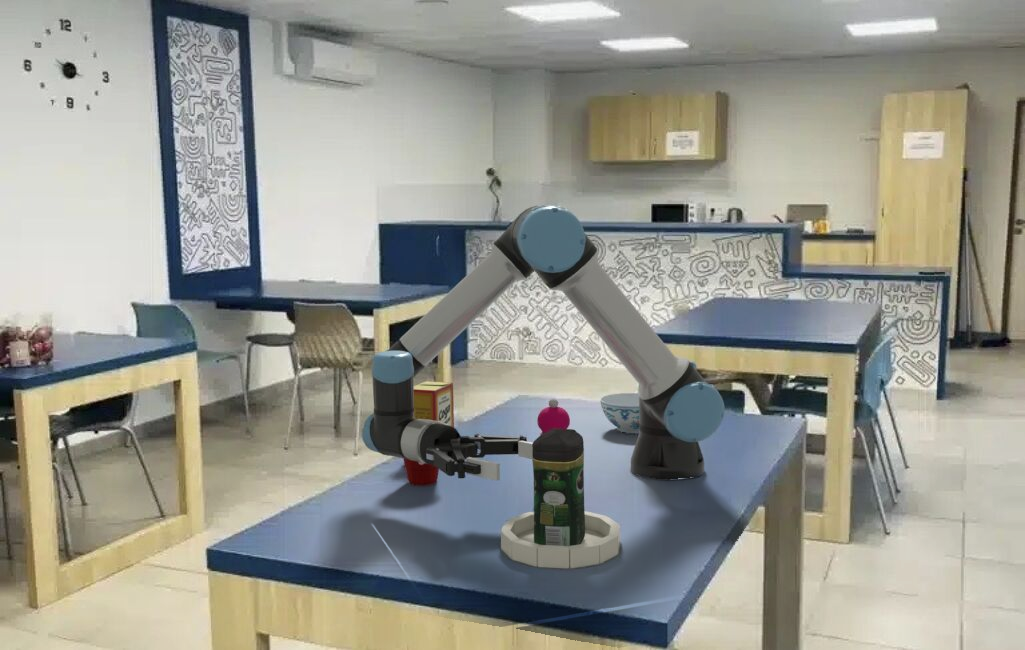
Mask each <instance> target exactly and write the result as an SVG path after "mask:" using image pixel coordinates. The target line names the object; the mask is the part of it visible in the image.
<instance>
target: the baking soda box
mask: <svg viewBox="0 0 1025 650" xmlns="http://www.w3.org/2000/svg"><path fill="white" fill-rule="evenodd" d="M454 410H455V409H454V382H450V381H449V382H446V381H445V382H444V381H429V380H428V381H427V380H426V381H423V382H421V383H419V384H417V385H414V419H422V420H433V421H439V422H442V423H445V424H447V425H449V426H452V427H454V428H455V421H454V420H455V414H454V413H455V411H454Z"/></svg>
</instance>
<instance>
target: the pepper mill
mask: <svg viewBox="0 0 1025 650" xmlns="http://www.w3.org/2000/svg"><path fill="white" fill-rule="evenodd" d="M536 421H537V427H538V428H539V429H540V431H541V432H540V434H539V436H540V435H542V434H544V433H546V432H548V431H550V430H551V429H553V428H556V429H569V427H570V425H571V420H570V415H569V413H568V411H566V409H564V408H563V407H559V402H558V400H557V398H551V399H549V400H548V406H547V407H545V408H543V409H542V410H541V411H540V412H539V413H538V415H537V420H536Z"/></svg>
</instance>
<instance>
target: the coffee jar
mask: <svg viewBox="0 0 1025 650" xmlns="http://www.w3.org/2000/svg"><path fill="white" fill-rule="evenodd" d="M532 443H533V444H532V447H533V449H532V456H533V457H532V459H531V460H532V461H531V462H532V471H533V512H534V543H536V544H539V545H552V546H573V545H580V544H581V543H582V541H583V539H584V537H585V511H586V510H585V483H584V482H585V481H584V480H585V479H584V478H585V476H584V473H585V472H584V470H585V469H584V466H585V465H584V463H585V448H584V443H585V442H584V438H583V436H582V434H580V433H579V432H578V431H576V430H575V429H571V428H567V429H556V428H553V429H551V430H550V431H548V432H546V433H544V434H542V435H540V434H539V436H538V437H537V438H536V439H535V440H534V441H533V442H532Z"/></svg>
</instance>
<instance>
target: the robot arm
mask: <svg viewBox="0 0 1025 650" xmlns="http://www.w3.org/2000/svg"><path fill="white" fill-rule="evenodd" d="M490 250H491V251H490V253H489V254H488V255H486V257H485V258H483V259H482V260H481V261H480V262H479V263H478V264H477V265H476V266H475V267H474V268H473V269H472V270H471V271H469V273H468V274H467V275H465V277H463V278H462V279H461V280H460V281H459V282H458V283H457V284H456V285H455V286H454V287H453V288H452V289H451V290H449V292H448V293H447V294H446V295H444V296H443V298H441V299H440V300H439V301H438V302H437V303H436V304H435V305H434V306H432V308H431V309H430V310H428V311H427V313H425V314H424V315H423V316H422V317H421V318H420V319H419V320H418V321H417V322H416V323H414V324H413V326H411V327H410V328H409V330H408V331H406V332H405V333H404V334H402V336H401V337H400V338H399V339H398V340H397V341H396V342H395V343H394V344H392V346H390V347H389V348H388V349H386V350H384V351H379V352H376V353H374V355H373V356H372V359H371V361H372V364H371V377H372V392H373V394H372V395H373V413H372V414H370V415H369V416H368V417H367V418H366V419H365V420H364V422H363V423H364V425H363V428H362V429H361V437H362V441H363V444H364V445H365V446H366V448H368V449H369V450H370V451H372V452H376V453H378V454H381V455H383V456H387V457H389V456H390V457H394V458H398V459H399V458H400V459H403V458H404V459H408V460H413V461H417V462H419V464H420V465H423V464H424V463H426V464H429V465H433V466H436V467H437V468H438V469H439V470H440V471H441V472H443V473H444V474H445V475H447V476H449V477H453V476H455V475H456V473H457V479H465V478H466V475H470V476H475V477H478V478H483V479H486V480H487V479H488V480H491V481H496V482H497V481H500V480H501V479H500V477H501V475H500V474H501V472H500V464H501V463H499V462H496V461H495V462H494V461H490V460H485V459H482V458H484V457H486V456H488V455H489V456H491V455H492V456H493V455H496V456H497V455H518V457H519V458H525V459H529V460H530V459H531V460H532V457H533V456H532V449H533V447H532V444H533V442H531V441H528V440H527V436H524V435H521V434H519V436H513V435H494V434H493V435H492V434H491V435H489V434H482V433H476V434H474V435H473V436H469V435H460V433H459V431H458V429H457V428H456V427H455V426H454V427H452V426H449V425H444V424H438V423H435V422H429V421H423V420H417V419H414V386H415V385H414V381H415V380H414V378H416V376H417V375H419V373H421V372H422V371H423V369H425V368H426V366H427V365H428V364H430V363H431V362H432V360H434V359H435V358H436V357H437V356H438V355H439V354H440V353H441V352H442V351H443V350H444V349H446V348H447V347H448V346H449V345H450V344H451V343H452V342H453V341H455V339H456V338H457V337H459V335H461V333H463V331H465V330H466V329H467V328H468V327H469V326H470V325H471V324H472V323H473V322H474V321H476V320H477V318H479V317H480V316H481V315H482V314H483V313H484V312H486V310H487V309H488V308H490V306H491V305H493V303H495V302H496V301H497V300H499V298H500V297H501V296H502V295H503V294H505V293H506V292H507V291H508V289H510V288H511V287H512V286H513V285H514V284H515V283H516V282H517V281H526V279H528V278H529V277H530V276H531V275H532V274H533V273H534V272H535V273H536V275H537V276H538V277H539V278H540V279H541V280H542V282H543V283H544V284H545V285H546V286H547V288H548V289H549V290H552V291H559V292H562V293H563V294H564V296H566V298H567V299H568V300H569V301H570V303H571V304H572V305H573V306H574V308H575V309H577V311H578V313H580V315H581V316H582V317H583V318H584V320H586V323H588V324H589V326H591V328H592V329H593V330H594V331H595V333H596V334H597V335H598V337H599V338H600V339H601V340H602V341H603V342H604V344H606V346H607V347H608V348H609V350H610V351H611V352H612V354H613V355H615V357H616V358H617V359H618V361H619V362H620V363H621V364H622V366H624V368H625V369H626V370H627V371H628V373H629V374H630V375H631V376H632V378H634V380H635V381H636V382H637V383H638V389H639V390H638V393H639V433H638V436H637V439H636V442H635V445H634V449H633V451H632V454H631V457H630V471H631V472H632V473H633V474H635V475H637V476H639V477H643V478H646V479H652V480H661V481H671V480H670V479H678V478H690V477H694V478H697V477H696V476H698V475H700V474H702V473H703V472H704V473H705V459H704V456H703V453H702V449H701V446H700V444H699V442H702V441H705V440H707V439H708V438H710V437H711V436H712V435H714V434H715V433H716V432H717V430H718V429H719V428H720V427H721V425H722V423H723V420H724V416H725V403H724V399H723V397H722V395H721V394H720V393H719V392H720V391H718V389H717V388H716V387H715V386H713V385H712V384H710V383H708V382H707V381H706V380H705V379H704V377H703V376H702V375H701V374H700V372H699V371H698V370H697V364H696V362H695V361H692V360H689V359H688V358H686V357H682V356H681V357H680V356H675V355H674V353H673V352H672V351H671V350H670V349H669V347H668V346H667V345H666V344H665V342H664V341H663V340H662V339H661V338H660V337H659V335H658V334H657V333H656V332H655V330H654V329H653V328H652V326H651V325H650V323H648V322H647V320H646V319H645V318H644V317H643V316H642V315H641V313H640V312H639V311H638V310H637V308H636V307H635V306H634V304H632V302H631V301H630V300H629V298H628V297H627V296H626V295H625V293H624V292H623V291H622V290H621V289H620V288H619V286H618V284H616V283H615V281H614V280H613V279H612V278H611V277H610V275H609V274H608V272H606V270H605V269H604V268H603V267H602V265H601V264H600V263H599V260H598V257H599V248H598V247H596V245H595V244H594V243H593V242H592V240H591V239H590V238H589V236H588V235H587V233H586V232H585V230H584V226H583V225H582V223H581V221H580V220H579V218H577V216H576V215H575V214H574V213H573V212H571V211H570V210H568V209H566V208H564V207H562V206H559V205H551V204H550V205H548V204H547V205H545V204H544V205H541V204H540V205H539V204H538V205H534V206H530V207H528V208H525V210H523V211H522V212H520V214H519V215H517V216H516V218H515V219H514V220H513V221H512V223H511V224H510V225H509V226H508V228H506V229H505V231H504V232H503V233H501V235H500V236H499V237H498V238H497V239H496V240H495V241H494V242H493V243H492V244H491V249H490ZM479 450H480V452H479ZM478 452H479V453H478ZM404 459H403V460H404ZM704 473H703V474H704ZM703 474H702V475H703ZM700 476H701V475H700ZM698 477H699V476H698ZM690 479H691V478H690Z"/></svg>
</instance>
